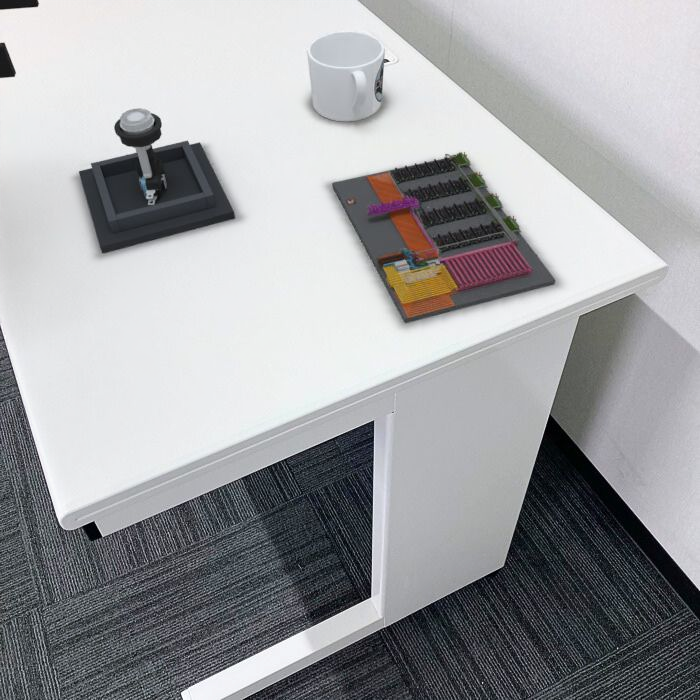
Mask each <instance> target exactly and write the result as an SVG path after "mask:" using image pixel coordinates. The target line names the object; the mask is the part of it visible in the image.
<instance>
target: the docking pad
mask: <svg viewBox="0 0 700 700" xmlns="http://www.w3.org/2000/svg"><path fill="white" fill-rule="evenodd" d="M153 151H154V152H155V154H156V158H157V160H158V159H160V160H162V162H163V166H164V171H165V175H166V183H167V186H166V189H165V186H164V181H162V188H161V189H162V190H161V194H160V199H155V205H148V201H149V200H148V199H145V195H144V192H143V190H141V187H140V182H139V179H140V177H139V175H138V174H137V170H136V167H135V164H136V162H137V158H138V156H137V152H133V153H129V154H125V155H120V156H116V157H113V158H108V159H103V160H100V161H95V162H90V166H91V167H90V168H86V169H82V170H79V171H78V174H79V178H80V181H81V185H82V188H83V191H84V195H85V199H86V202H87V205H88V210H89V212H90V217H91V219H92V224H93V228H94V231H95V233H96V238H97V241H98V245H99V248H100V250H101V253H102V254H104V253H109V252H112V251H116V250H120V249H123V248H127V247H131V246H135V245H139V244H142V243H146V242H150V241H153V240H158V239H161V238H165V237H168V236H172V235H176V234H180V233H183V232H184V233H185V232H187V231H191V230H195V229H199V228H202V227H206V226H209V225H214V224H217V223H221V222H225V221H230V220H233V219H235V218H236V216H235V211H234V209H233V206H232V205H231V203H230V201H229V199H228V197H227V195H226V193H225V190H224V188H223V187H222V184H221V182H220V180H219V178H218V176H217V174H216V172H215V170H214V168H213V166H212V164H211V162H210V160H209V158H208V155H207V153H206V151H205V150H204V148H203V146H202V144H201V142H195V143H191V144H190V142H189V140H183V141H180V142H175V143H171V144H166V145H163V146H159V147H155V148H153ZM150 203H153V202H150Z"/></svg>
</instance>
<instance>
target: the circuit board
mask: <svg viewBox="0 0 700 700" xmlns="http://www.w3.org/2000/svg"><path fill="white" fill-rule="evenodd" d="M471 165H472V164H471V161H470V160H469V158H468V154H466V152H465V151H464V152H462V151H460V152H458V153H456V154H452V155H450V154H448V153H445V155H444V158H440V159H436V158H434V159H433V160H431V161H426V160H425V161H424V162H422V163H418V164H417V162H416V163H414V164H412V165H404V166H403V167H398V168H397V167H394V169H389V170H386V171H381V172H380V171H379V172H375V173H371V174H366V175H361V176H357V177H352V178H348V179H343V180H339V181H334V182H331V184H332V189H333V190H334V192H335V195H336V196H337V198H338V200H339V201H340V204H341V206H342V208H343V209H344V211H345V213H346V215H347V217H348V219H349V220H350V223H351V225H352V226H353V228H354V230H355V232H356V234H357V235H358V236H357V237H359V240H360V241H361V243H362V245H363V247H364V249H365V250H366V253H367V255H368V256H369V258H370V260H371V262H372V264H373V265H374V267H375V269H376V272H377V273H378V275H379V277H380V279H381V281H382V282H383V285H384V286H385V288H386V291H387V292H388V295H389V296H390V298H391V300H392V302H393V303H394V305H395V307H396V309H397V312H398V313H399V315H400V317H401V319H402V320H403V322H404V324H407V323H411V322H413V321H414V322H415V321H419V320H421V319H426V318H429V317H434V316H437V315H441V314H444V313H448V312H452V311H456V310H460V309H464V308H468V307H472V306H475V305H480V304H483V303H487V302H491V301H494V300H497V299H502V298H505V297H509V296H510V297H511V296H514V295H517V294H521V293H525V292H529V291H533V290H536V289H540V288H544V287H548V286H551V285H555V284H556V279H555V277H554V276H553V275H552V274H551V272H550V270H549V269H548V268H547V267H546V266H545V264H544V263H543V261H542V260H541V258H540V257H539V256H538V255H537V253H536V252H535V251H534V249H533V248H532V247H531V245H530V244H529V243H528V242H527V241H529V240H526V239H525V238H524V236H523V235H522V234H521V233H522V231H521V230H520V225H519V224H518V222H517V218H515V216H514V215H513V216H512V217H511V215H507V214H506V212H505V211H504V210H503V209H504V206H503V203H502V201H501V200H500V199H499V195H497V192H495V194H494V193H490V192H489V190H488V188H489V186H488V184H486V180H485V179H484V178H483V174H481V171H479V172H478V171H474V170H473V168H471Z"/></svg>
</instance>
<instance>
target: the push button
mask: <svg viewBox="0 0 700 700" xmlns="http://www.w3.org/2000/svg"><path fill="white" fill-rule="evenodd" d="M162 126H163V124H162V120H161V118H160V116H158V114H155V113H154V112H153V113H152V112H151V111H150V110H149V109H146V108H142V107H141V108H140V107H139V108H138V107H137V108H131V109H128V110H126V111H125V112H122V113H121V115H120V117H119V119H117V121H116V122H115V123H114V126H113V128H114V129H113V130H114V133H115V134H116V136H117V137H119V139H120V142H121V144H122V145H125V146H126V147H128V148H129V147H132V148H134V149H135V151H136V152H135V153H137V156H138V158H137V162H136V164H135V167H136V170H137V174H138V175H139V177H140V179H139V182H140V187H141V190H143V192H144V195H145V199H148V200H149V201H148V205H155V199H160V194H161V190H162V189H161V188H162V181H164V186H165V189H166V186H167V183H166V175H165V171H164V166H163V162H162V160H160V159H158V160H157V158H156V154H155V152H154V151H153V149H154V148H153V144H154V143H156V142H158V141H159V140H160V138H161V137H162V135H163V134H162V130H161V129H162ZM150 202H153V203H150Z"/></svg>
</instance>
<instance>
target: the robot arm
mask: <svg viewBox="0 0 700 700" xmlns="http://www.w3.org/2000/svg"><path fill="white" fill-rule="evenodd" d="M39 5H40V3H39V0H0V11H5V10H17V9H19V10H20V9H30V8H39ZM16 75H17V72H16V69H15V66H14V64H13V61H12V58H11V55H10V53H9V50H8V48H7V44H6V43H5V42H0V79H4V78H5V79H6V78H15V77H16Z"/></svg>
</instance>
